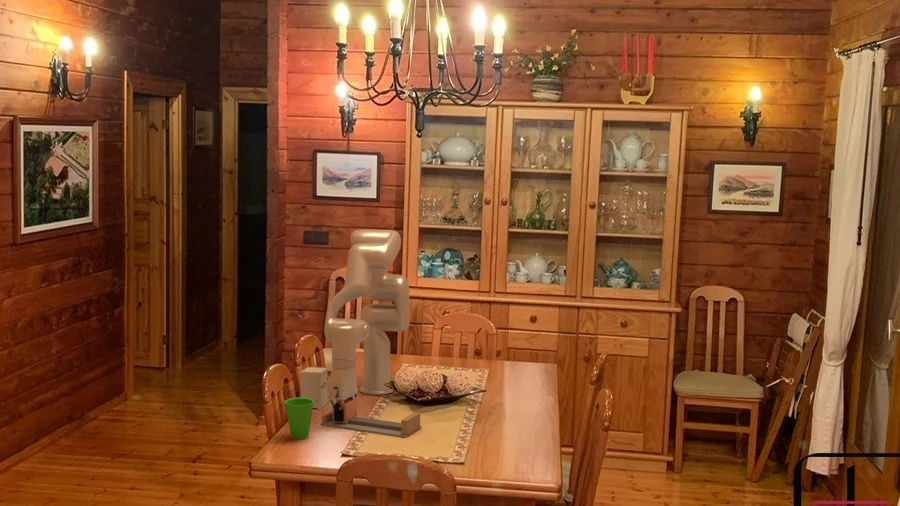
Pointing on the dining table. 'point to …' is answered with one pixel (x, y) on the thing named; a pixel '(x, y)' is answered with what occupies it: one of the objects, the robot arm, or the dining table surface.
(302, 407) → the cup
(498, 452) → the dining table surface
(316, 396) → the supplement box
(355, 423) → the track
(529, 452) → the dining table surface
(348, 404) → the orange cube
